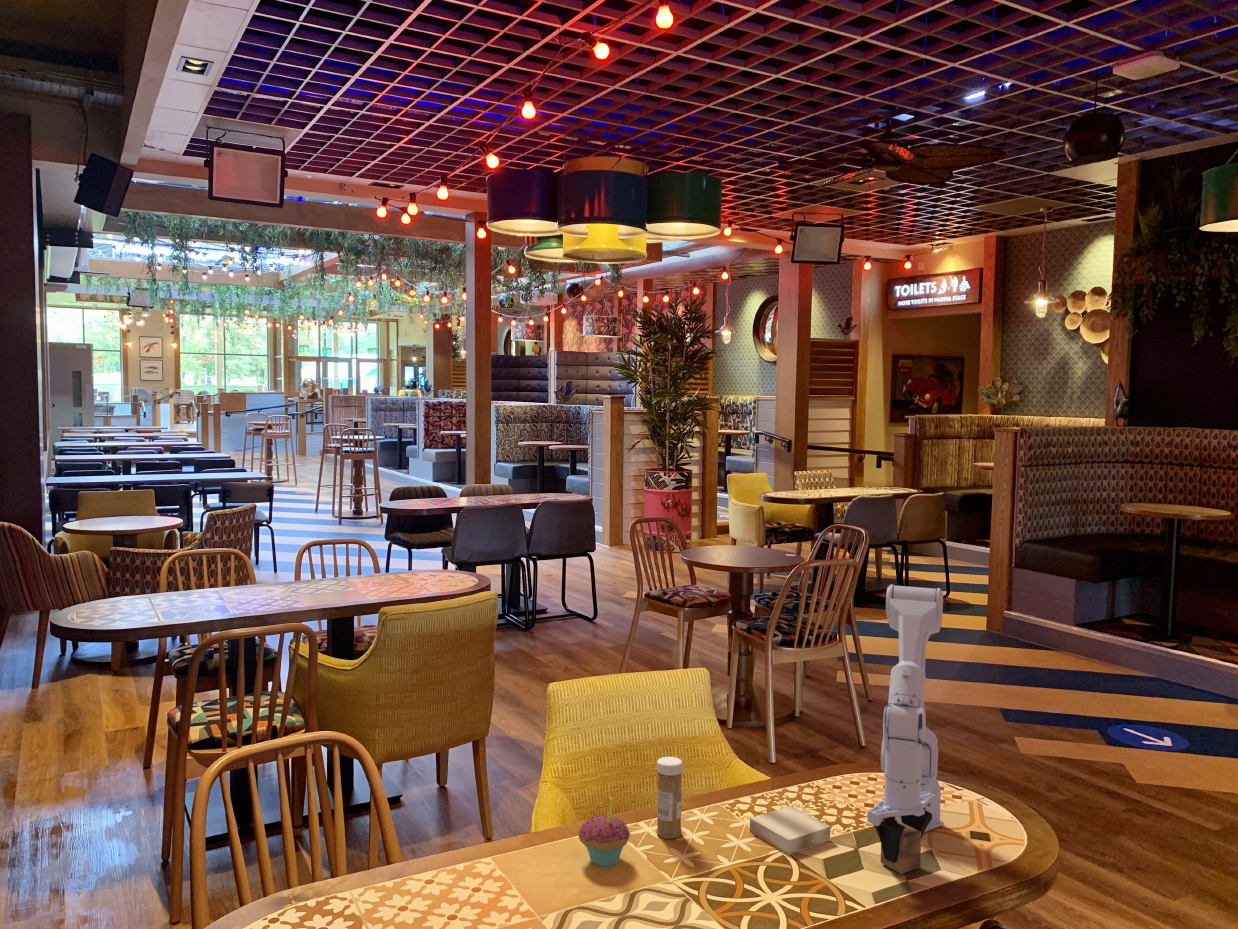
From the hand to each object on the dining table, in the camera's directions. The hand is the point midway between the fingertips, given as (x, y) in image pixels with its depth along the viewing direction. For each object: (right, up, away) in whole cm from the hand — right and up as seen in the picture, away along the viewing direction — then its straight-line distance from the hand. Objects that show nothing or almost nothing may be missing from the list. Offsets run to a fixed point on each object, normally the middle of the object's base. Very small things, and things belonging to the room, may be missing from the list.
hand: (900, 856), depth 151 cm
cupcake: (-50, -1, +1) cm, 50 cm away
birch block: (-17, -2, +11) cm, 20 cm away
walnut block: (0, -1, 0) cm, 1 cm away
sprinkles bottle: (-38, -1, +11) cm, 40 cm away
